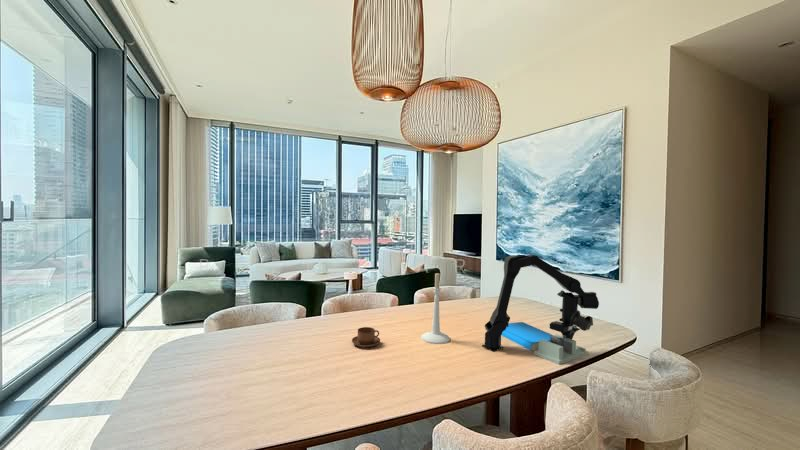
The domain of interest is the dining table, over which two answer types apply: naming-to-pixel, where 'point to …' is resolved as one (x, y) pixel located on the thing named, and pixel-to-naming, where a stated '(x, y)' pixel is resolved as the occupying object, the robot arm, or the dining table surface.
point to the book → (525, 335)
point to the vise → (557, 352)
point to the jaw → (568, 344)
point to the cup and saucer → (366, 337)
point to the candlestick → (436, 320)
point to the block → (557, 340)
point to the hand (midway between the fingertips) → (568, 344)
